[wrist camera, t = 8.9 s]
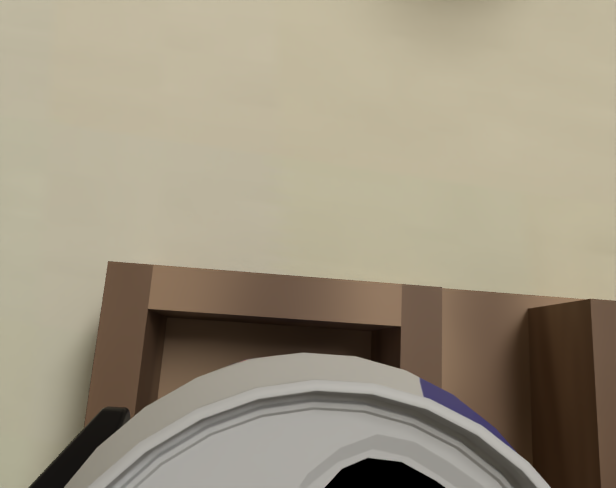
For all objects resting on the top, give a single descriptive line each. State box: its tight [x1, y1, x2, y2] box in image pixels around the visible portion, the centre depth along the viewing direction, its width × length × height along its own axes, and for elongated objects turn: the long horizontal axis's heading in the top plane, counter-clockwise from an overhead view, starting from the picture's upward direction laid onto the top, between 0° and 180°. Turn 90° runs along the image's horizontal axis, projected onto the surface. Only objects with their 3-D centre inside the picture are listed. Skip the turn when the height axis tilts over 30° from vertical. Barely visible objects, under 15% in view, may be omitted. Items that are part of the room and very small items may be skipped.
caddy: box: [84, 261, 616, 488], centre depth 12 cm, size 23×10×13 cm, turn 86°
